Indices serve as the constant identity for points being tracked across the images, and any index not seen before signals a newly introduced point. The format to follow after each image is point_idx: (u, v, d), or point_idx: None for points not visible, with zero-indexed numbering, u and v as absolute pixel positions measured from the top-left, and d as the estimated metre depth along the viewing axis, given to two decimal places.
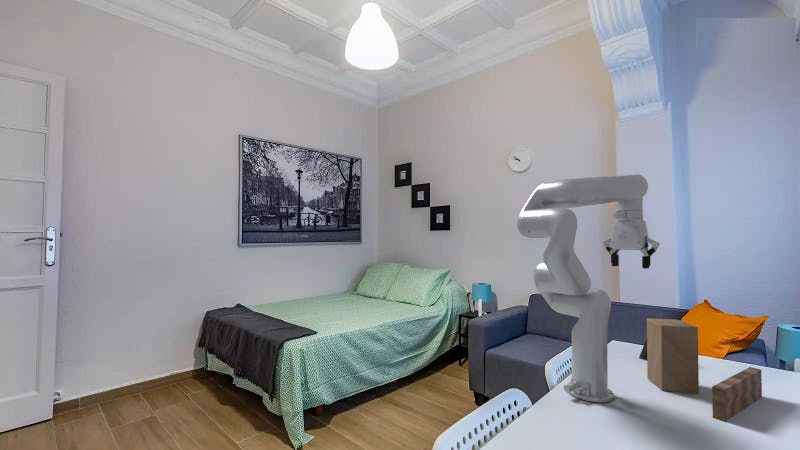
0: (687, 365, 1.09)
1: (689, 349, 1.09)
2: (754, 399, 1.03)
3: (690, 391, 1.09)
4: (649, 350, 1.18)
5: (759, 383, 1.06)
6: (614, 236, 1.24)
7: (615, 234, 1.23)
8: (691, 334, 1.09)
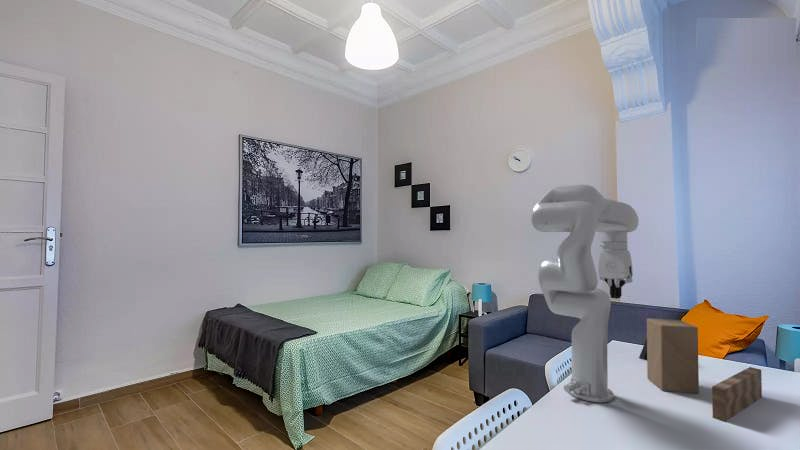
0: (687, 365, 1.09)
1: (689, 349, 1.09)
2: (754, 399, 1.03)
3: (690, 391, 1.09)
4: (649, 350, 1.18)
5: (759, 383, 1.06)
6: (601, 265, 1.31)
7: (602, 263, 1.31)
8: (690, 334, 1.09)
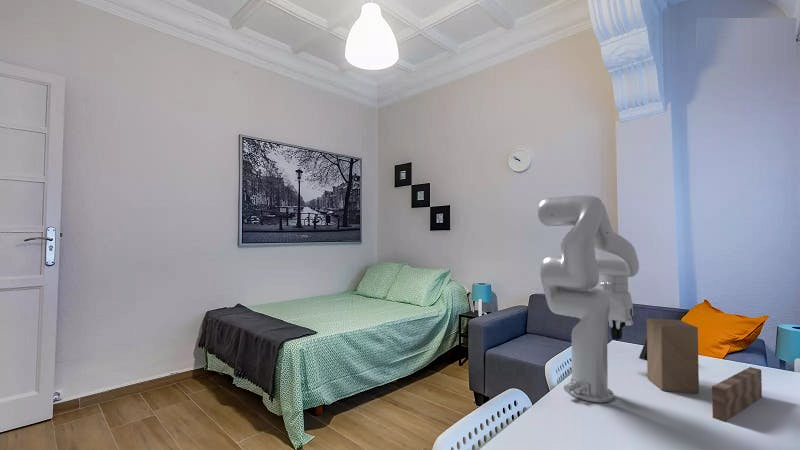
0: (687, 365, 1.09)
1: (689, 349, 1.09)
2: (754, 399, 1.03)
3: (690, 391, 1.09)
4: (649, 350, 1.18)
5: (759, 383, 1.06)
6: None
7: None
8: (691, 334, 1.09)
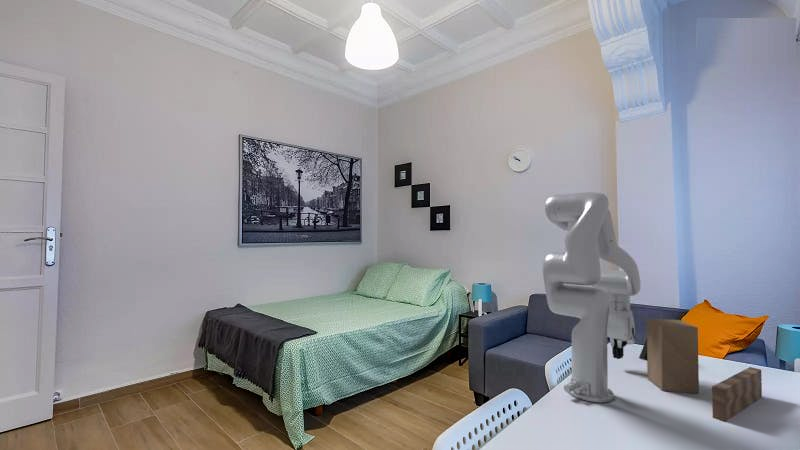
0: (687, 365, 1.09)
1: (689, 349, 1.09)
2: (754, 399, 1.03)
3: (690, 391, 1.09)
4: (649, 350, 1.18)
5: (759, 383, 1.06)
6: None
7: None
8: (691, 334, 1.09)
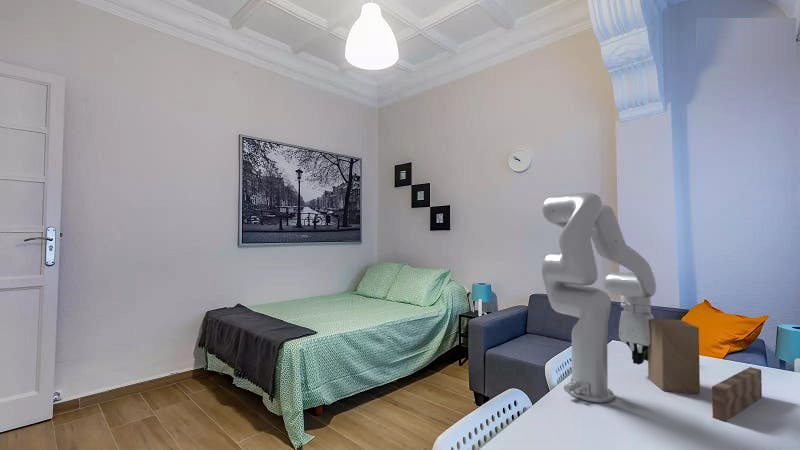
0: (688, 366, 1.09)
1: (690, 349, 1.09)
2: (754, 399, 1.03)
3: (691, 391, 1.09)
4: (650, 350, 1.18)
5: (759, 383, 1.06)
6: (622, 327, 1.25)
7: (623, 325, 1.24)
8: (692, 334, 1.09)
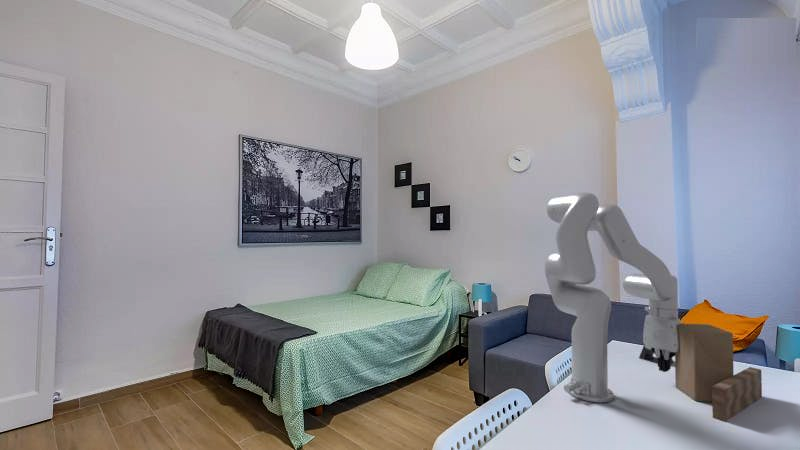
0: (722, 374, 1.03)
1: (723, 357, 1.03)
2: (754, 399, 1.03)
3: None
4: (678, 357, 1.12)
5: (759, 383, 1.06)
6: (647, 332, 1.18)
7: (648, 331, 1.18)
8: (725, 340, 1.03)
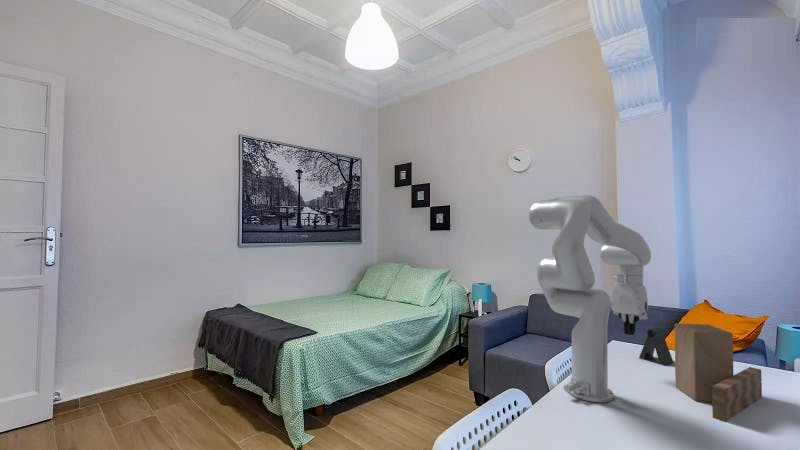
0: (721, 374, 1.03)
1: (723, 357, 1.03)
2: (754, 399, 1.03)
3: None
4: (678, 357, 1.12)
5: (759, 383, 1.06)
6: (615, 298, 1.26)
7: (615, 297, 1.26)
8: (725, 340, 1.03)
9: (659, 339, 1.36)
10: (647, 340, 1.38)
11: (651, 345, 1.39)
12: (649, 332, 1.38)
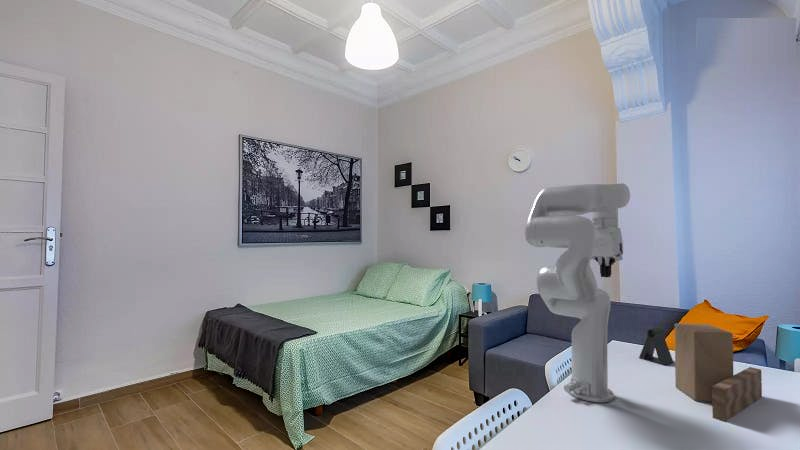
0: (721, 374, 1.03)
1: (723, 357, 1.03)
2: (754, 399, 1.03)
3: None
4: (678, 357, 1.12)
5: (759, 383, 1.06)
6: None
7: None
8: (725, 340, 1.03)
9: (659, 339, 1.36)
10: (647, 340, 1.38)
11: (651, 345, 1.39)
12: (649, 332, 1.38)
